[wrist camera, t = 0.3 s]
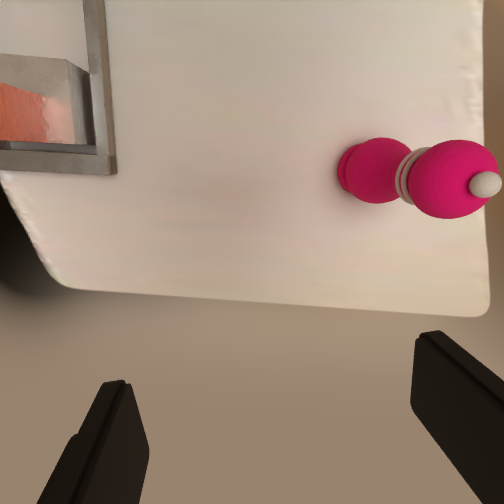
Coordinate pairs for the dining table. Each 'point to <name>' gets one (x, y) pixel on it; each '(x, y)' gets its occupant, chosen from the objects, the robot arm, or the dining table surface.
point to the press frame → (102, 111)
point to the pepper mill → (422, 175)
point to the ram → (45, 101)
